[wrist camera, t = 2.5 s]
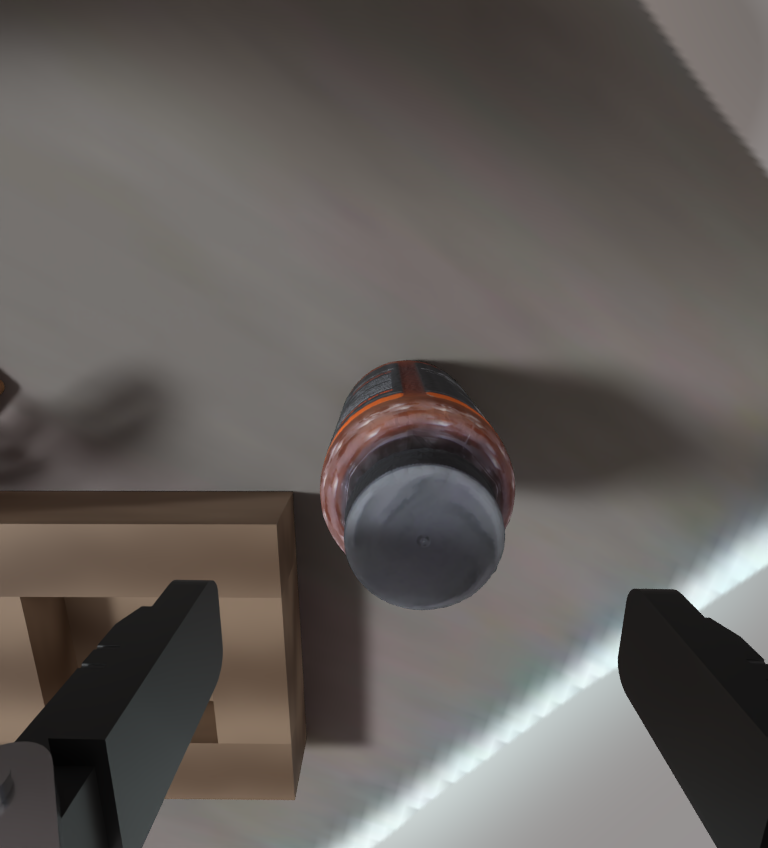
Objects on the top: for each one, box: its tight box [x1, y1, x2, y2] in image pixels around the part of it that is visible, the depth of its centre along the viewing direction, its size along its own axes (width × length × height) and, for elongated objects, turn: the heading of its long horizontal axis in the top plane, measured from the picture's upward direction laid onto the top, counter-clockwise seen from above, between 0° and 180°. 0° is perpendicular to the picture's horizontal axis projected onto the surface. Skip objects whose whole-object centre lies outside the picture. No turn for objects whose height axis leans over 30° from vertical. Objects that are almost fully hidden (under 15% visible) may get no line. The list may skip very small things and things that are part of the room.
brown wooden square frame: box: [0, 491, 307, 800], centre depth 24 cm, size 15×15×4 cm
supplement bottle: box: [320, 360, 515, 610], centre depth 17 cm, size 6×6×11 cm
